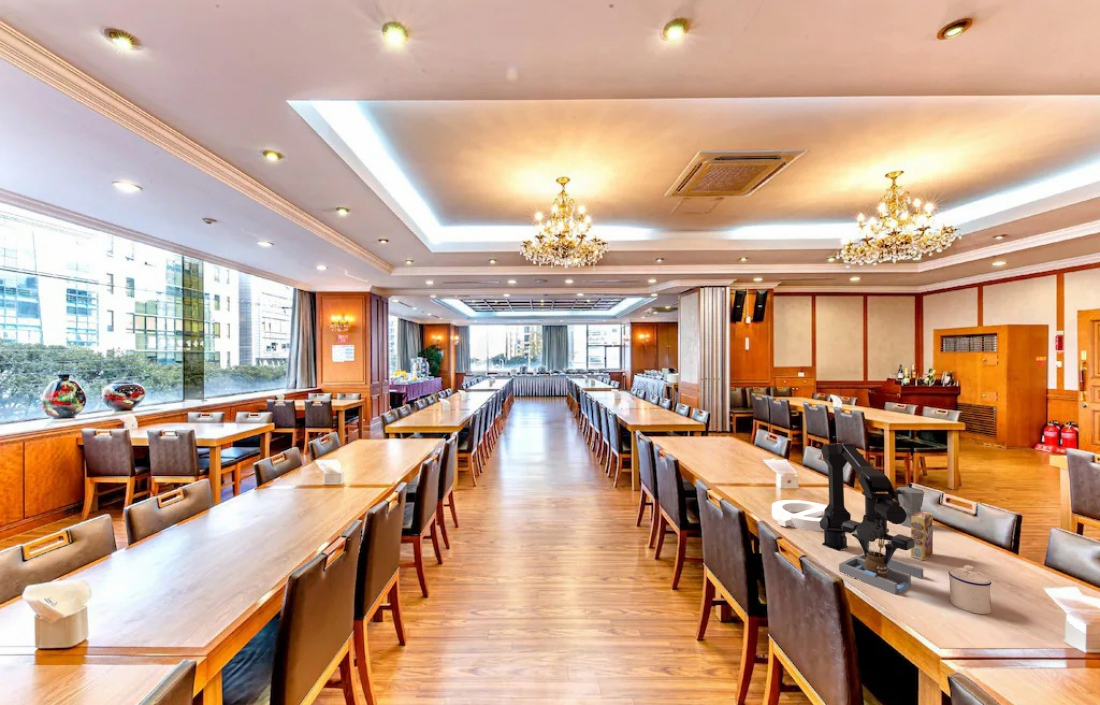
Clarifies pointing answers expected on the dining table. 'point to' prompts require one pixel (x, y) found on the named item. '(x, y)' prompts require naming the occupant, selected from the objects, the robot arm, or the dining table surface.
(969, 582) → the teacup with lid
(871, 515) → the robot arm
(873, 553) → the utensil holder
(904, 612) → the dining table surface
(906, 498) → the coffeepot
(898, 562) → the divider rack
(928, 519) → the candy box
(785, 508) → the ring with crossbar
